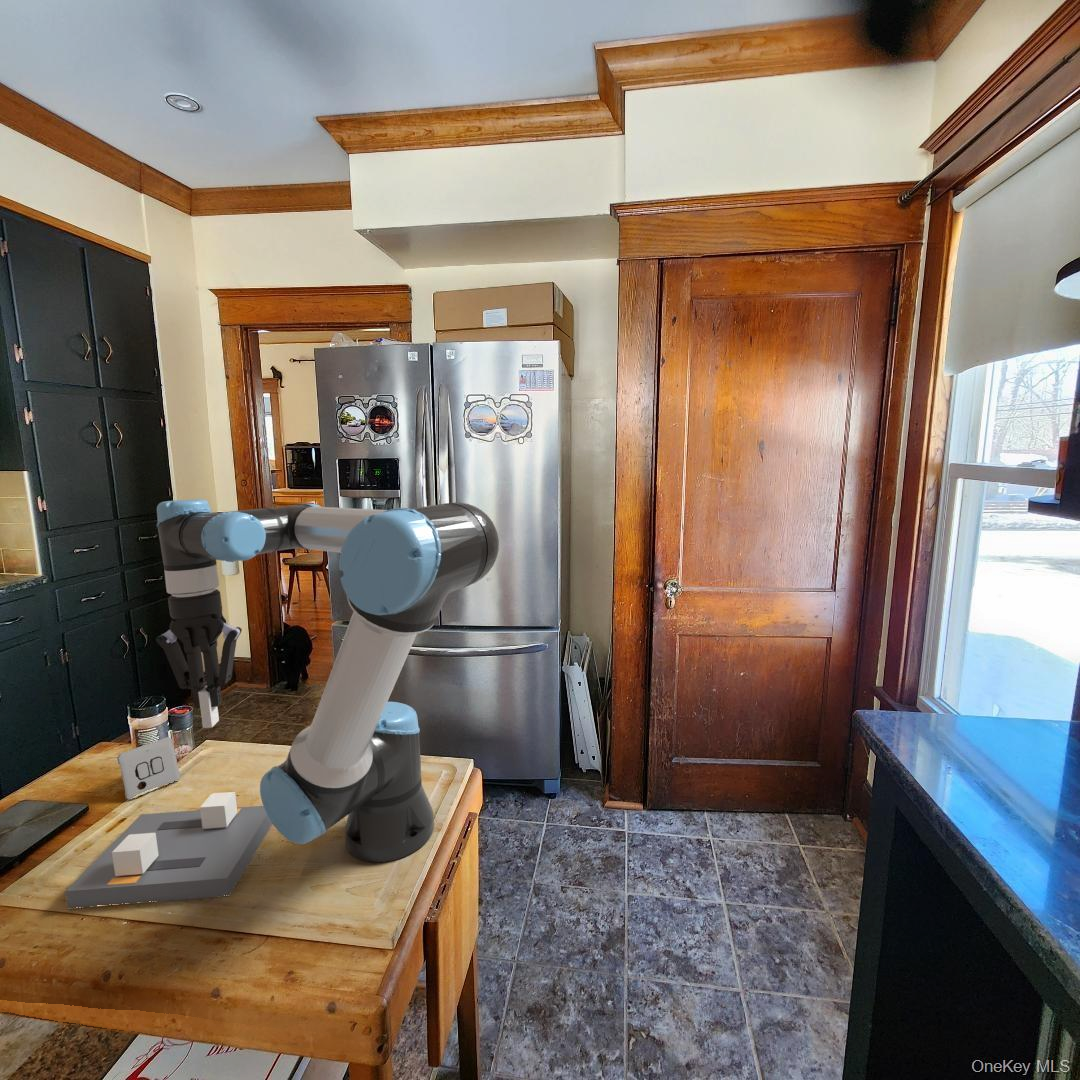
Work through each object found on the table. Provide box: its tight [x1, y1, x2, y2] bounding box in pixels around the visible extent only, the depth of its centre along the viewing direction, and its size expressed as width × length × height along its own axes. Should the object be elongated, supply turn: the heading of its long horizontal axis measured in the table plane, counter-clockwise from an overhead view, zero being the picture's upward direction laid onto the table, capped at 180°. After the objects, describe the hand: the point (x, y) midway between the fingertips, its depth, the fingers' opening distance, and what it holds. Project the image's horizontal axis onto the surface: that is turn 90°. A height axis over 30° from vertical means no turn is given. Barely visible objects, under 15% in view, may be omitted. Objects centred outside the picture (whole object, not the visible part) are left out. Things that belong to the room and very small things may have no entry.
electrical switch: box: [116, 736, 181, 801], centre depth 113 cm, size 9×5×9 cm, turn 141°
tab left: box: [112, 833, 159, 876], centre depth 86 cm, size 4×4×4 cm
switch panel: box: [64, 805, 273, 909], centre depth 92 cm, size 23×18×3 cm
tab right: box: [199, 791, 238, 829], centre depth 97 cm, size 4×4×4 cm
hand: (211, 724), depth 96 cm, fingers closed
